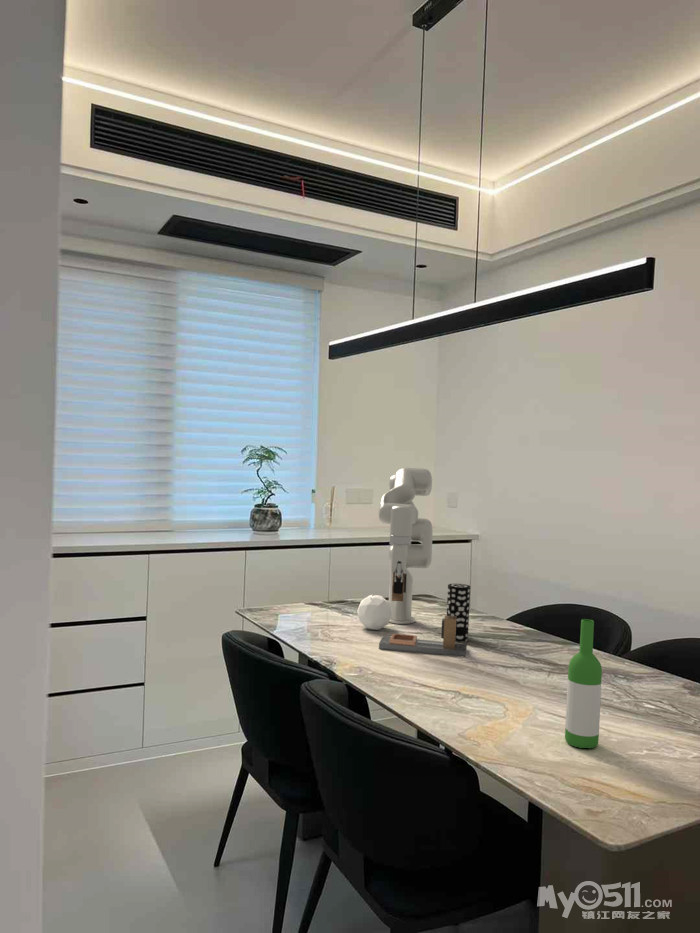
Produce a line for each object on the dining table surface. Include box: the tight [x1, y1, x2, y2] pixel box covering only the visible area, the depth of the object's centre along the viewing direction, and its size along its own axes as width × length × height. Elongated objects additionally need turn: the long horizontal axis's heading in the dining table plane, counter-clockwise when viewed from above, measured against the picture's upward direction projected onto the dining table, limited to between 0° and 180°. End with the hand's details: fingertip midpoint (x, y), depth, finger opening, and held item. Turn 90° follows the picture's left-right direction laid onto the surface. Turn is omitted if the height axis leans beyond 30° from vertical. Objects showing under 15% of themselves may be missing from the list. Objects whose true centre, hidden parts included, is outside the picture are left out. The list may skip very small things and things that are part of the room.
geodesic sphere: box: [356, 594, 392, 631], centre depth 277 cm, size 14×14×14 cm
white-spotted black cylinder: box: [446, 583, 471, 643], centre depth 268 cm, size 8×8×20 cm
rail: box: [378, 614, 468, 658], centre depth 251 cm, size 10×30×12 cm, turn 80°
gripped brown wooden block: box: [392, 572, 407, 601], centre depth 253 cm, size 5×5×10 cm
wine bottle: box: [564, 618, 603, 749], centre depth 172 cm, size 8×8×30 cm
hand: (398, 591), depth 253 cm, fingers closed on gripped brown wooden block, 5 cm apart
